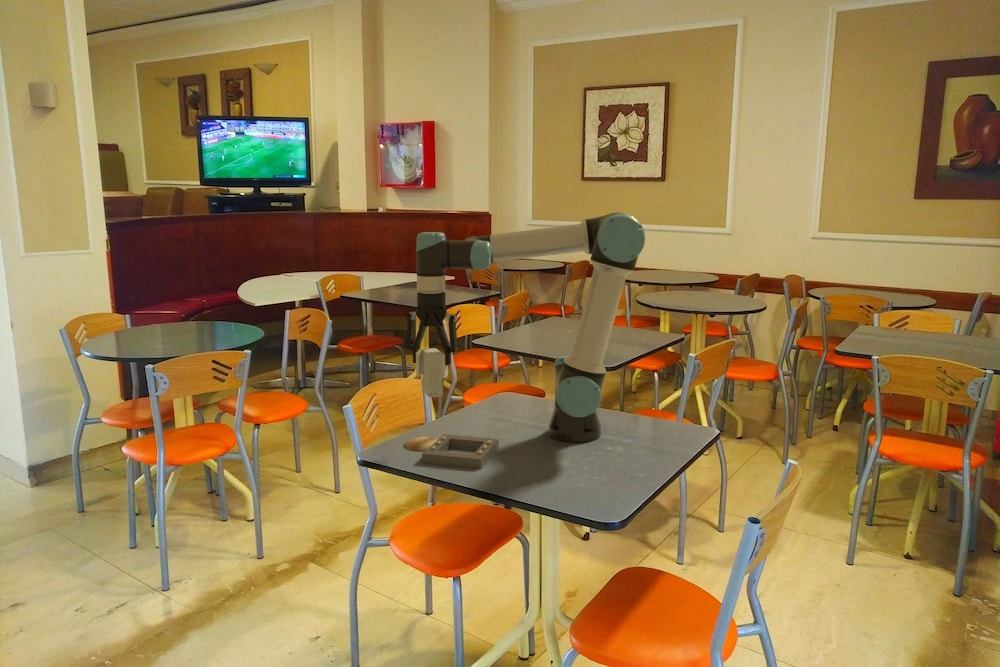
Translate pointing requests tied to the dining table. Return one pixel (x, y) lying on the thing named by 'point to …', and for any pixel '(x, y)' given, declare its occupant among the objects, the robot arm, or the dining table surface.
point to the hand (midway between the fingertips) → (432, 375)
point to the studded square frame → (476, 460)
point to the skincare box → (432, 372)
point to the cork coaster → (420, 443)
